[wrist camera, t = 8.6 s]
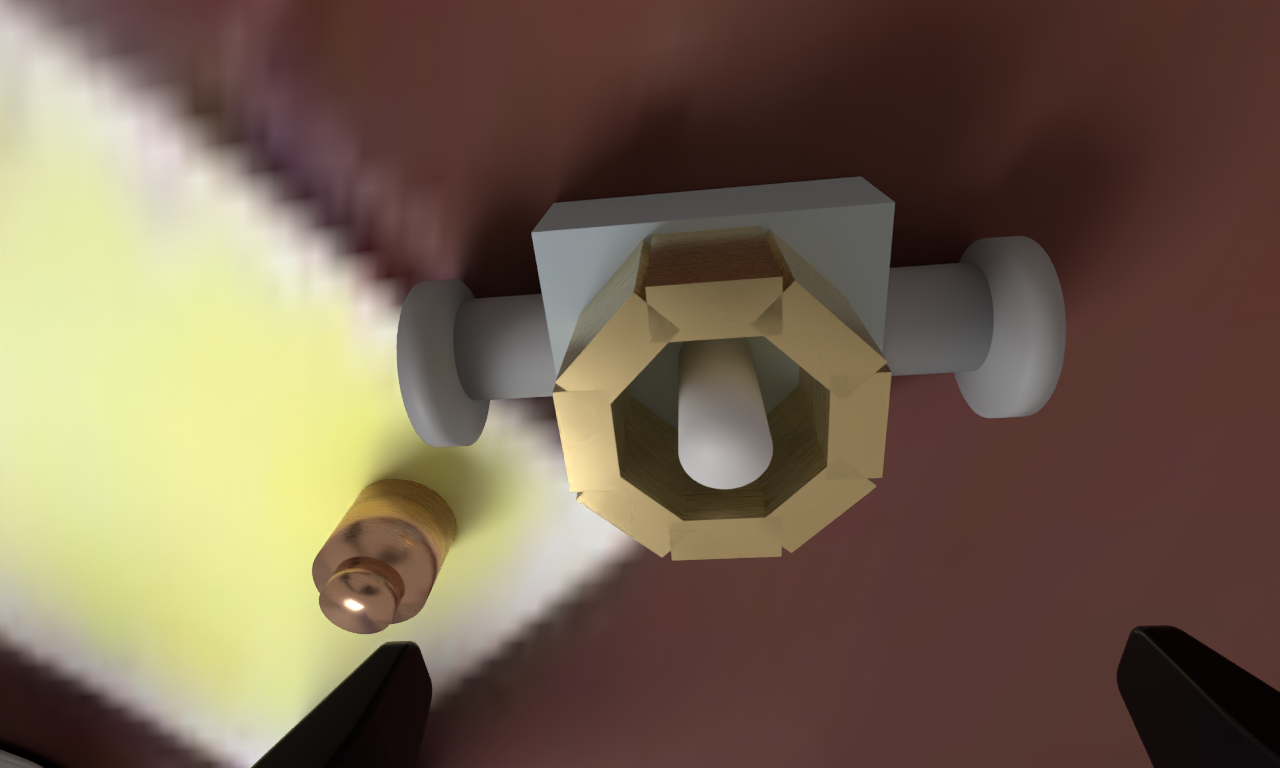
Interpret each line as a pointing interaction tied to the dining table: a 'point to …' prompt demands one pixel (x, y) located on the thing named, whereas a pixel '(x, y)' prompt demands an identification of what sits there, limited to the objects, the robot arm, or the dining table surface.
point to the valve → (748, 366)
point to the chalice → (15, 761)
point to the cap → (383, 556)
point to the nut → (799, 425)
